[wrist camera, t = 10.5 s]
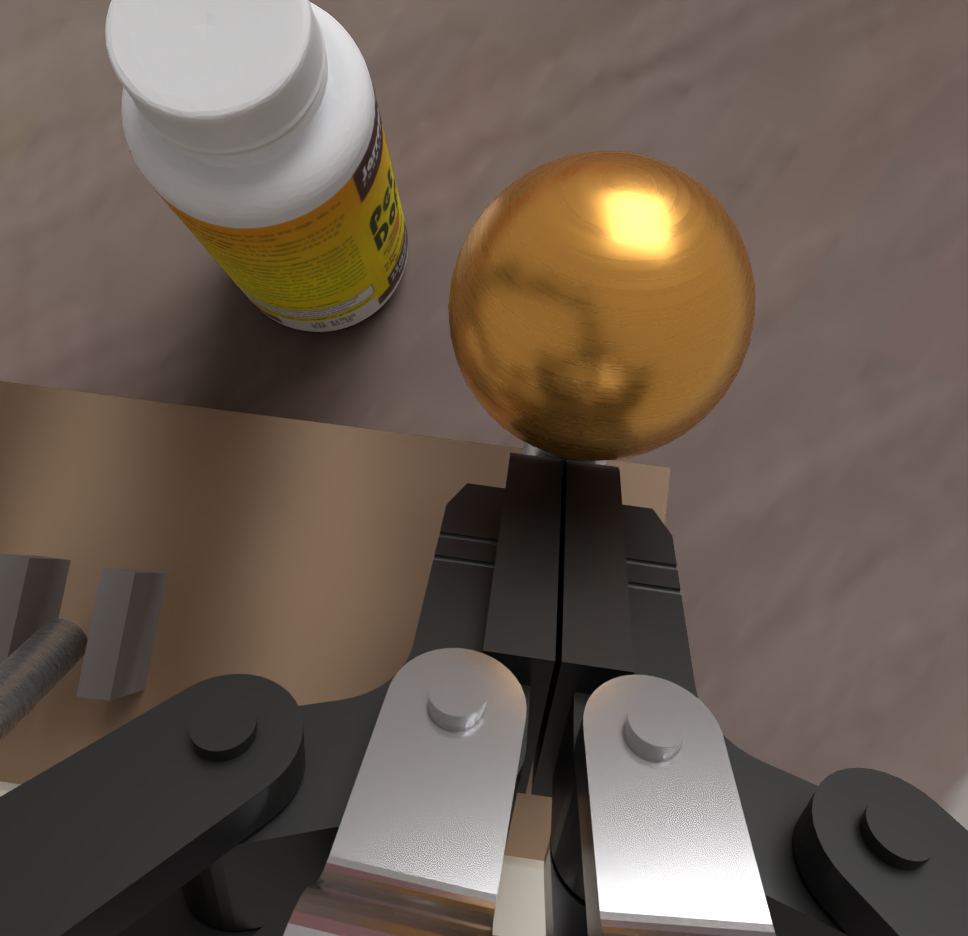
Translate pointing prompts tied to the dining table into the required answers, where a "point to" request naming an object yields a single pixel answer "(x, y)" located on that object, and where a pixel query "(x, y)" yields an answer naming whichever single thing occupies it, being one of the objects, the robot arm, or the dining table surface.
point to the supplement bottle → (265, 149)
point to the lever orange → (601, 306)
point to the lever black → (37, 669)
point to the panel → (232, 566)
